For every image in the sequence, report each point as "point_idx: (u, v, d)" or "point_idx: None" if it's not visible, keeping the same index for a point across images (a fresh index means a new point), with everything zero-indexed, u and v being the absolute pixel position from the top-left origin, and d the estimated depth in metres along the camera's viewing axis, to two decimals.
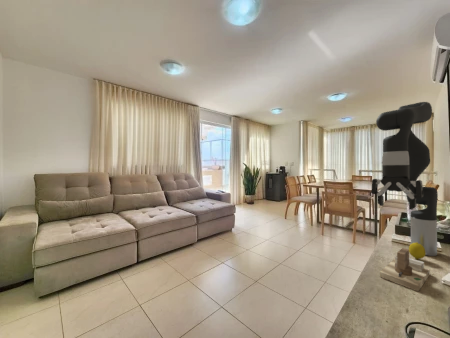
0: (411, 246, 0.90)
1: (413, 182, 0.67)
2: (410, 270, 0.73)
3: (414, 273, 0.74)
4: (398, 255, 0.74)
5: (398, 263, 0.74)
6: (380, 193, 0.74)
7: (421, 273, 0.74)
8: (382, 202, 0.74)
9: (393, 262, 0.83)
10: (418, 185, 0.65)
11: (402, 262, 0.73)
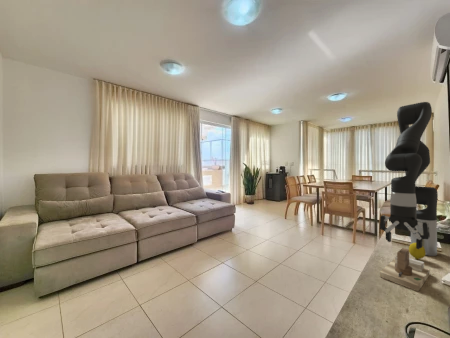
0: (411, 246, 0.90)
1: (420, 223, 0.71)
2: (410, 270, 0.73)
3: (414, 273, 0.74)
4: (398, 255, 0.74)
5: (398, 263, 0.74)
6: (388, 230, 0.78)
7: (421, 273, 0.74)
8: (390, 238, 0.78)
9: (393, 262, 0.83)
10: (425, 227, 0.69)
11: (402, 262, 0.73)
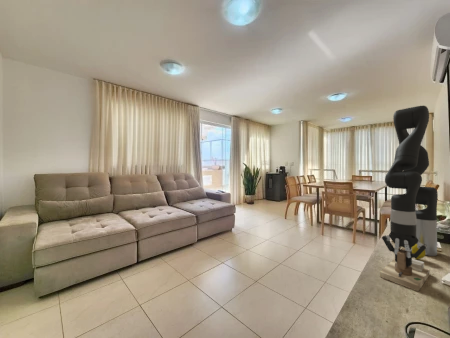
0: None
1: (419, 244, 0.71)
2: (410, 270, 0.73)
3: (414, 273, 0.74)
4: (398, 255, 0.74)
5: (398, 263, 0.74)
6: None
7: (421, 273, 0.74)
8: None
9: (393, 262, 0.83)
10: (421, 249, 0.70)
11: (402, 262, 0.73)
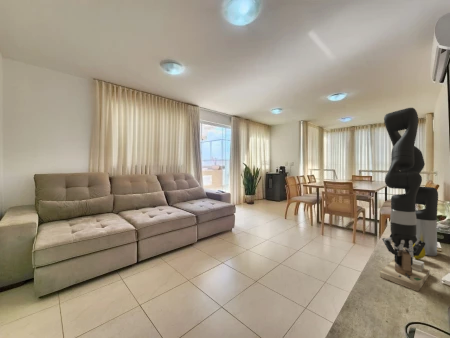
0: None
1: (418, 241, 0.74)
2: None
3: (414, 273, 0.74)
4: (405, 257, 0.72)
5: (405, 265, 0.72)
6: (400, 253, 0.74)
7: (421, 273, 0.74)
8: None
9: (393, 262, 0.83)
10: (422, 246, 0.73)
11: (409, 263, 0.72)
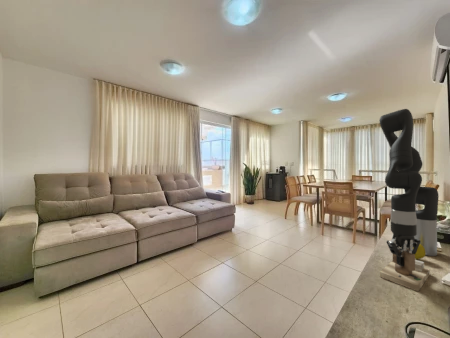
0: None
1: (414, 239, 0.75)
2: None
3: (414, 273, 0.74)
4: (411, 257, 0.72)
5: (411, 266, 0.72)
6: (403, 254, 0.74)
7: (421, 273, 0.74)
8: None
9: (393, 262, 0.83)
10: (418, 244, 0.75)
11: (413, 263, 0.72)
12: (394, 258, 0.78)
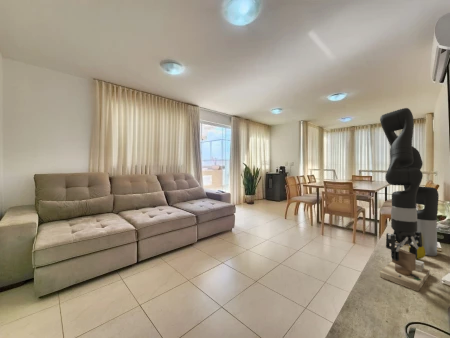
0: None
1: (415, 233, 0.75)
2: None
3: (414, 273, 0.74)
4: (412, 257, 0.72)
5: (412, 266, 0.72)
6: (398, 249, 0.73)
7: (421, 273, 0.74)
8: None
9: None
10: (420, 236, 0.75)
11: (414, 263, 0.72)
12: None
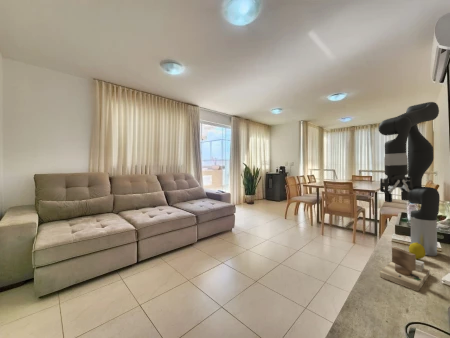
0: (411, 246, 0.90)
1: (406, 178, 0.83)
2: None
3: (414, 273, 0.74)
4: (412, 257, 0.72)
5: (412, 266, 0.72)
6: (391, 191, 0.81)
7: (421, 273, 0.74)
8: None
9: None
10: (411, 180, 0.83)
11: (414, 263, 0.72)
12: (394, 258, 0.78)
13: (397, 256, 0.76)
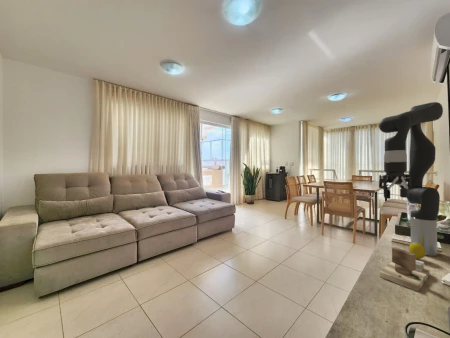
0: (411, 246, 0.90)
1: (405, 175, 0.84)
2: None
3: (414, 273, 0.74)
4: (412, 257, 0.72)
5: (412, 266, 0.72)
6: (389, 187, 0.82)
7: (421, 273, 0.74)
8: None
9: None
10: (410, 177, 0.84)
11: (414, 263, 0.72)
12: (394, 258, 0.78)
13: (397, 256, 0.76)
